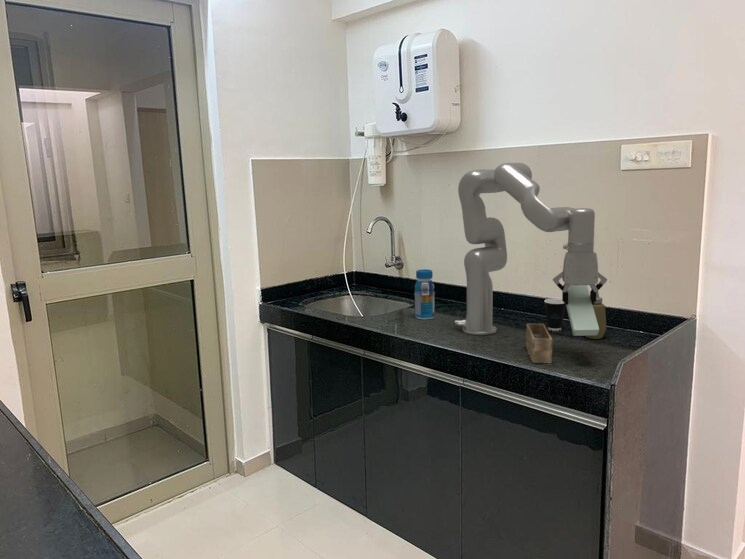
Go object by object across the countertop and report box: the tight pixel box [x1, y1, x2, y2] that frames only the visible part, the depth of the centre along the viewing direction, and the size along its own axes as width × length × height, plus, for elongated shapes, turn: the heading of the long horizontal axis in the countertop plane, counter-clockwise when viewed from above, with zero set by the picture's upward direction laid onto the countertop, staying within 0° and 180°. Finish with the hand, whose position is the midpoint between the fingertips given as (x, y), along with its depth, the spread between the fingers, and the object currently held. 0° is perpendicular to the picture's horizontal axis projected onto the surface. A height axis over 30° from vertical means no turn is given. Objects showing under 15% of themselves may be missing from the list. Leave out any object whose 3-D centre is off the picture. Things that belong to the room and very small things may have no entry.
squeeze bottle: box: [585, 291, 607, 340], centre depth 200 cm, size 8×8×18 cm
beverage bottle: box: [414, 268, 436, 321], centre depth 235 cm, size 8×8×20 cm
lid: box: [565, 285, 599, 337], centre depth 177 cm, size 7×20×2 cm
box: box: [525, 323, 553, 364], centre depth 183 cm, size 6×19×8 cm, turn 171°
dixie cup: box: [544, 298, 566, 332], centre depth 212 cm, size 8×8×11 cm
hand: (578, 303), depth 178 cm, fingers closed on lid, 7 cm apart
